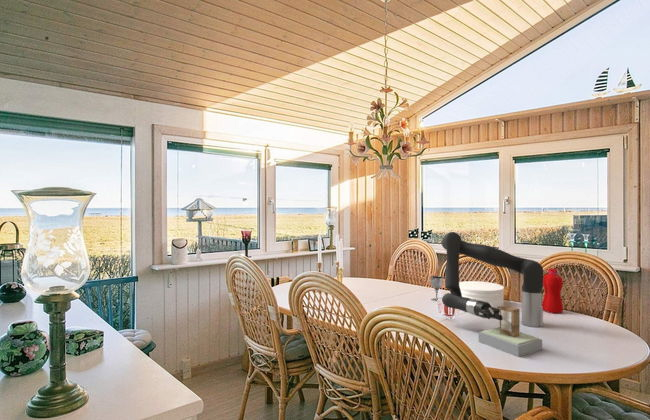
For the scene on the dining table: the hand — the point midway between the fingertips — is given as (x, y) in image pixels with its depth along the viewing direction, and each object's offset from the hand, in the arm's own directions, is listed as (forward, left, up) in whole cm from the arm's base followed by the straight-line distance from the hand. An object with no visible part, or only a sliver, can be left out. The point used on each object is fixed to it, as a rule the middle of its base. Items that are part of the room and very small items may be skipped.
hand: (508, 316), depth 174 cm
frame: (0, 0, -8) cm, 8 cm away
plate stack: (+6, -73, -13) cm, 75 cm away
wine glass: (+32, -76, -13) cm, 83 cm away
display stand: (0, 0, -13) cm, 13 cm away
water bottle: (-34, -64, -13) cm, 74 cm away
